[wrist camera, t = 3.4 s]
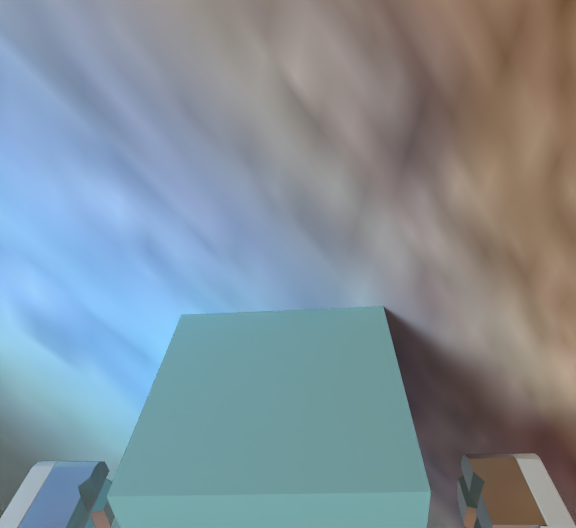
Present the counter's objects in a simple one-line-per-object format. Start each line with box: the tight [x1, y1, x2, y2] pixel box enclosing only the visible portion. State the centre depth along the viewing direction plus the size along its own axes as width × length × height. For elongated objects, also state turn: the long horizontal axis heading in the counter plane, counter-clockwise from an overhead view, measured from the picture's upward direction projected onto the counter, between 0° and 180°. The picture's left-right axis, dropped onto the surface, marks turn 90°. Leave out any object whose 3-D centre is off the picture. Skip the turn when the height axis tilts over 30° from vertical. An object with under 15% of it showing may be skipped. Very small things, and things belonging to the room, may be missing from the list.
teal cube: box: [107, 306, 431, 528], centre depth 10 cm, size 5×5×5 cm
